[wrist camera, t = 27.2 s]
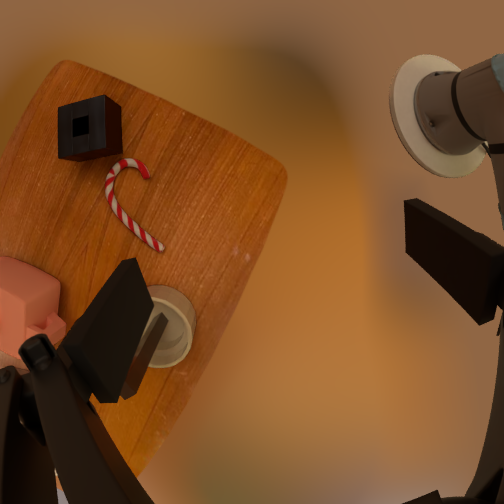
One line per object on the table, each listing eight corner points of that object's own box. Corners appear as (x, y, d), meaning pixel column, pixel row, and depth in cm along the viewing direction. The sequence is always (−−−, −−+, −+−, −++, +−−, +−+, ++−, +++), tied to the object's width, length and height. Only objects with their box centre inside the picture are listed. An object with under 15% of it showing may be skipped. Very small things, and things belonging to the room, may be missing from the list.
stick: (161, 311, 48) (124, 381, 28) (169, 320, 48) (136, 393, 28) (153, 317, 48) (113, 388, 28) (160, 326, 48) (124, 400, 29)
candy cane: (144, 263, 46) (93, 179, 43) (146, 261, 47) (96, 179, 44) (187, 235, 45) (134, 148, 42) (188, 234, 47) (137, 149, 44)
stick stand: (121, 106, 42) (104, 94, 35) (122, 153, 44) (105, 147, 37) (78, 116, 42) (57, 107, 35) (79, 162, 43) (58, 158, 36)
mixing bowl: (203, 294, 48) (199, 309, 42) (189, 355, 50) (184, 375, 44) (134, 276, 47) (121, 288, 41) (125, 337, 49) (113, 355, 42)
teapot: (-11, 301, 46) (-55, 326, 32) (-7, 240, 44) (-57, 254, 30) (77, 346, 49) (40, 387, 35) (86, 281, 47) (43, 312, 33)
